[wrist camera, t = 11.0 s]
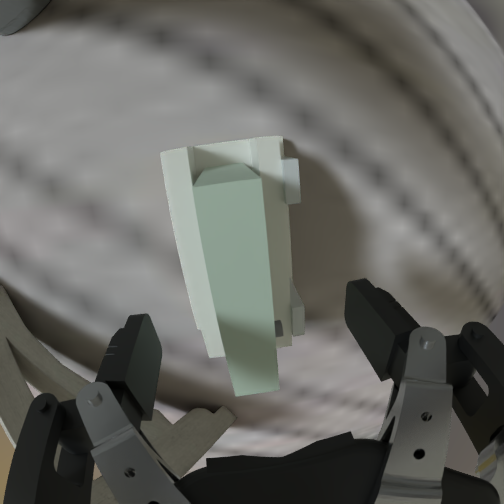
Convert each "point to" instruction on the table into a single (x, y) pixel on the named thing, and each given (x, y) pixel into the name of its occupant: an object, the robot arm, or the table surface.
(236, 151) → the rail
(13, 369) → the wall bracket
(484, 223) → the table surface
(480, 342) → the robot arm
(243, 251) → the tapered block
